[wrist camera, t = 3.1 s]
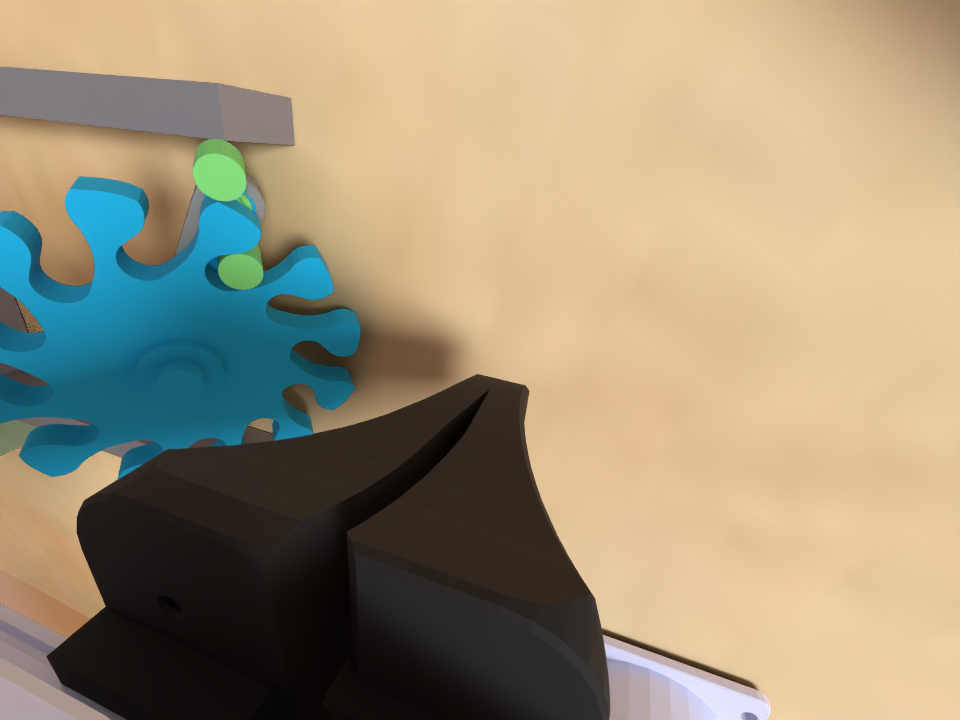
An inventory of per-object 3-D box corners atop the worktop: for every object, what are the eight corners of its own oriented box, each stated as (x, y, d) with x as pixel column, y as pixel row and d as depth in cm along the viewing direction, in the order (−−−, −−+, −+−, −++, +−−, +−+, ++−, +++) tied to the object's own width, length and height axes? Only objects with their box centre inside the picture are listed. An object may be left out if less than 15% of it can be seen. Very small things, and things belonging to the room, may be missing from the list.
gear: (299, 504, 17) (-123, 506, 10) (283, 401, 21) (-27, 357, 14) (439, 257, 13) (-114, 16, 6) (385, 189, 17) (16, 0, 10)
